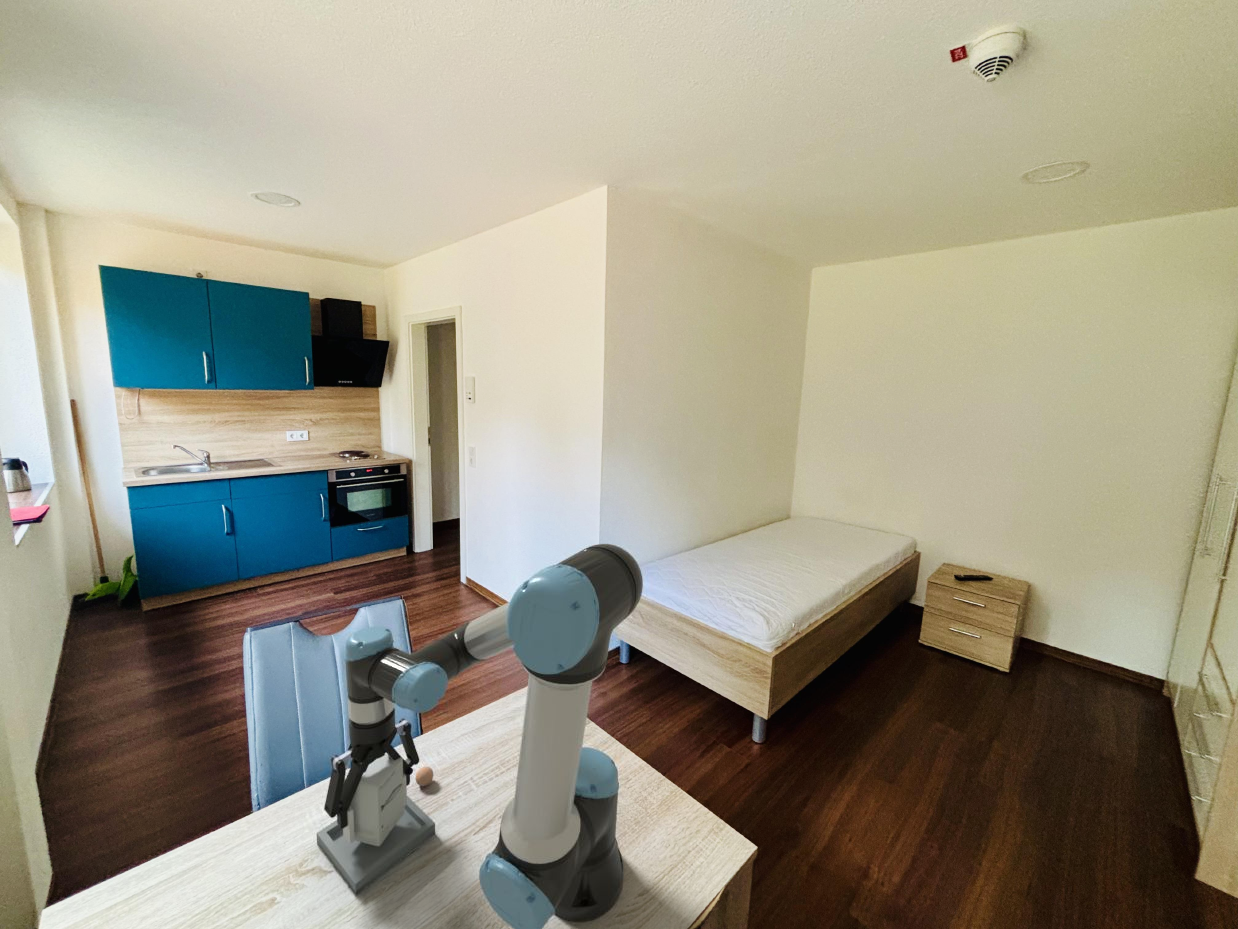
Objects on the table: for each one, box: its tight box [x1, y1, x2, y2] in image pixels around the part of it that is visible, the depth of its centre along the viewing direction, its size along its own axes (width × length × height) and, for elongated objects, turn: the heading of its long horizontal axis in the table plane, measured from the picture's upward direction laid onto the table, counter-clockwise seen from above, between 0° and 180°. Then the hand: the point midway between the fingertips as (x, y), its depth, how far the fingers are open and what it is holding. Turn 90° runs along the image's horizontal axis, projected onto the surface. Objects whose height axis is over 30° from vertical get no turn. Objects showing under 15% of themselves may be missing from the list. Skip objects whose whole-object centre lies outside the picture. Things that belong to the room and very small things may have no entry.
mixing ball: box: [415, 765, 434, 787], centre depth 106 cm, size 4×4×4 cm
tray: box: [316, 795, 436, 897], centre depth 93 cm, size 15×15×2 cm
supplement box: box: [344, 753, 404, 846], centre depth 92 cm, size 7×7×13 cm
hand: (376, 819), depth 92 cm, fingers closed on supplement box, 9 cm apart
